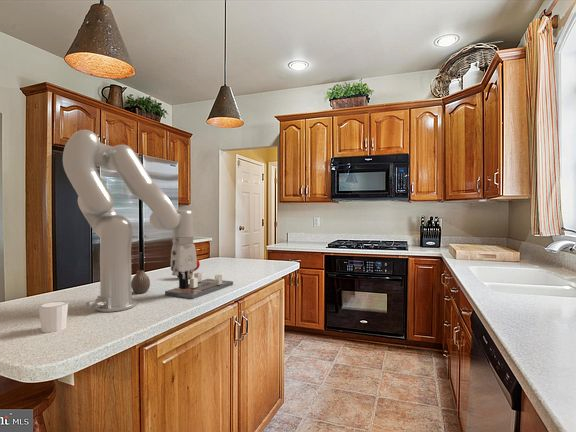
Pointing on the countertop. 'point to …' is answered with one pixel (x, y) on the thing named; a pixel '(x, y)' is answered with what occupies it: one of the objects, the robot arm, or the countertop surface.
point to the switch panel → (200, 287)
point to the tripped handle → (193, 282)
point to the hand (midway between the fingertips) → (183, 288)
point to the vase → (140, 282)
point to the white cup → (53, 316)
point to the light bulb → (195, 269)
